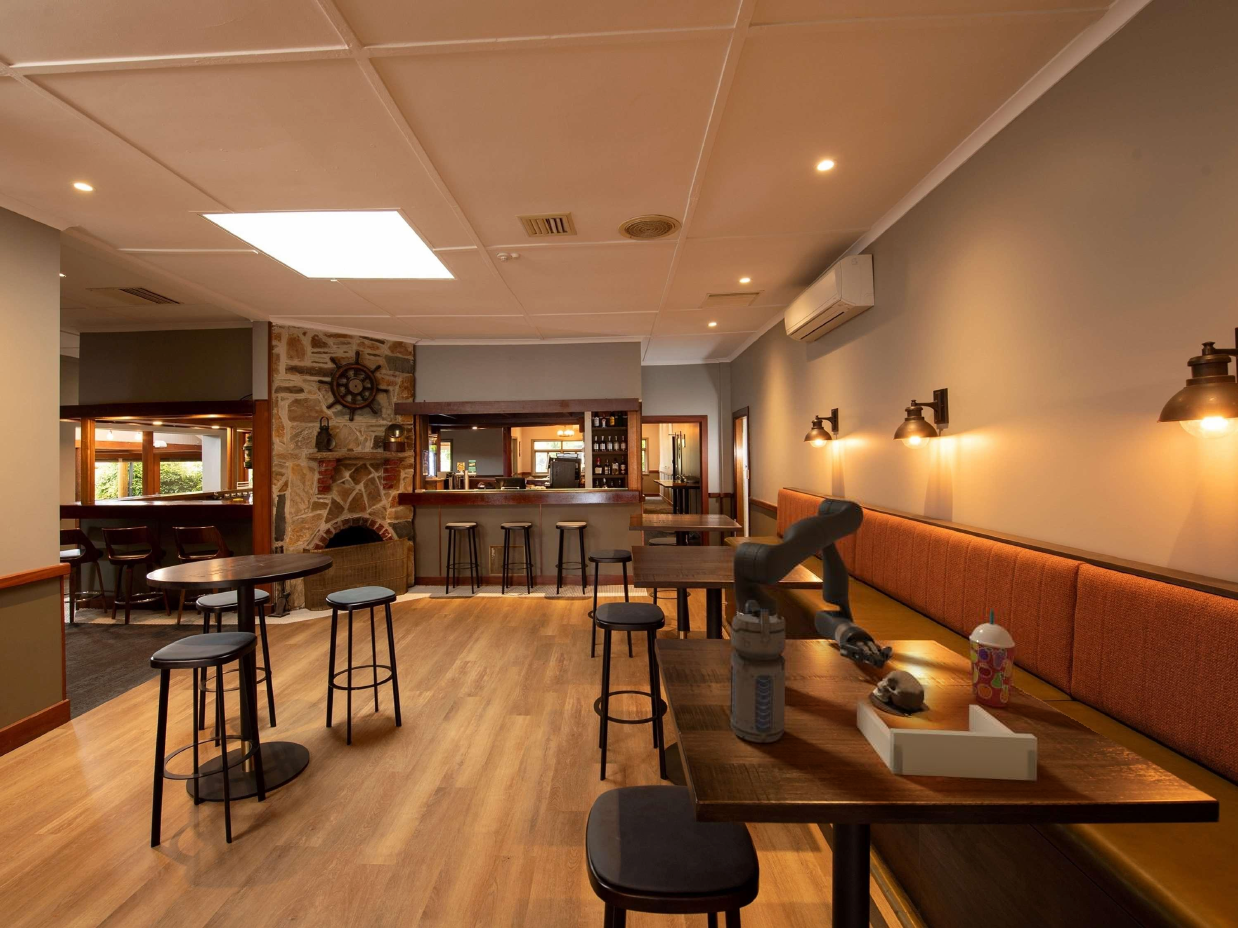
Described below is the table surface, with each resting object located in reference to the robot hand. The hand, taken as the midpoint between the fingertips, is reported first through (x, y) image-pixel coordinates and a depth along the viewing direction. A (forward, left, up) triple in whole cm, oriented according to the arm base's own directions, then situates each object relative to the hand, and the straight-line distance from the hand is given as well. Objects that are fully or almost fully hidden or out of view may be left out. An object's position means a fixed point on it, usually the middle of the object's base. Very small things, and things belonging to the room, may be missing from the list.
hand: (880, 664), depth 130 cm
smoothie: (+22, -5, -6) cm, 23 cm away
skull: (+1, -8, -6) cm, 10 cm away
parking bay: (0, -27, -6) cm, 27 cm away
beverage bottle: (-32, -23, -6) cm, 40 cm away
